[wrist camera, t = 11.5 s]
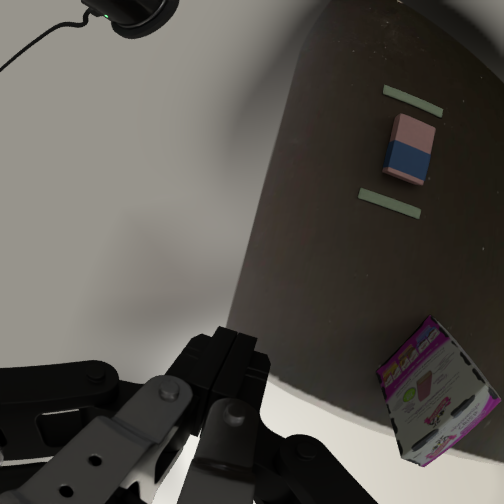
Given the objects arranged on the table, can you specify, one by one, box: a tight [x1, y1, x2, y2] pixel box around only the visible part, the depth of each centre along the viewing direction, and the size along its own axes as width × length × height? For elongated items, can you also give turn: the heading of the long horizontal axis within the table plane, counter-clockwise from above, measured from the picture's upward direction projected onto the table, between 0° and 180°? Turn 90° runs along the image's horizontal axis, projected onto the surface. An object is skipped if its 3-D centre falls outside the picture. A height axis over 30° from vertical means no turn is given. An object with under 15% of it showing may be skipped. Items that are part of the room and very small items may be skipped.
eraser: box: [382, 113, 435, 185], centre depth 29 cm, size 5×7×3 cm, turn 165°
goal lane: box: [358, 85, 443, 219], centre depth 30 cm, size 8×14×1 cm, turn 166°
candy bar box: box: [376, 315, 501, 467], centre depth 27 cm, size 11×5×16 cm, turn 145°
